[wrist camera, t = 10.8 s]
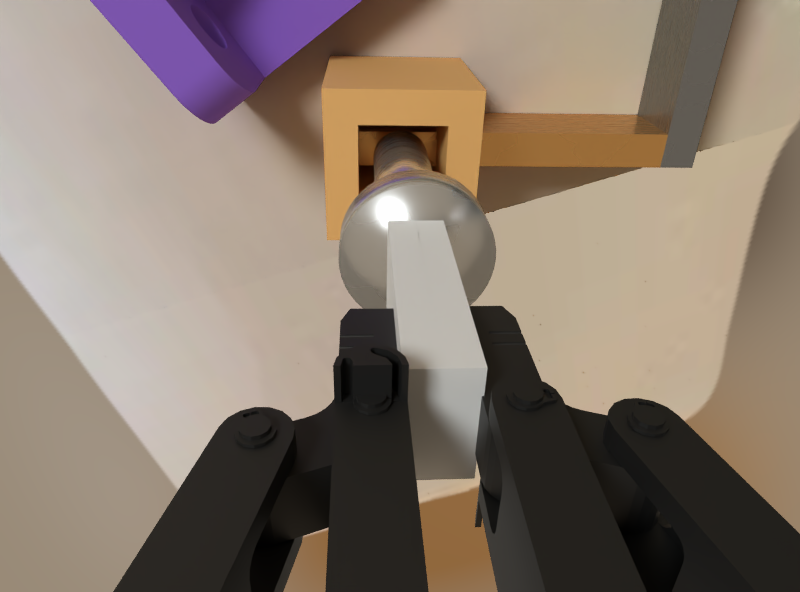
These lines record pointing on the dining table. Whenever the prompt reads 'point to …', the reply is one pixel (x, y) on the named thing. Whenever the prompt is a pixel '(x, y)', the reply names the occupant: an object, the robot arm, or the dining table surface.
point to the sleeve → (397, 119)
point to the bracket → (218, 43)
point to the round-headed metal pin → (411, 201)
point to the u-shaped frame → (613, 134)
